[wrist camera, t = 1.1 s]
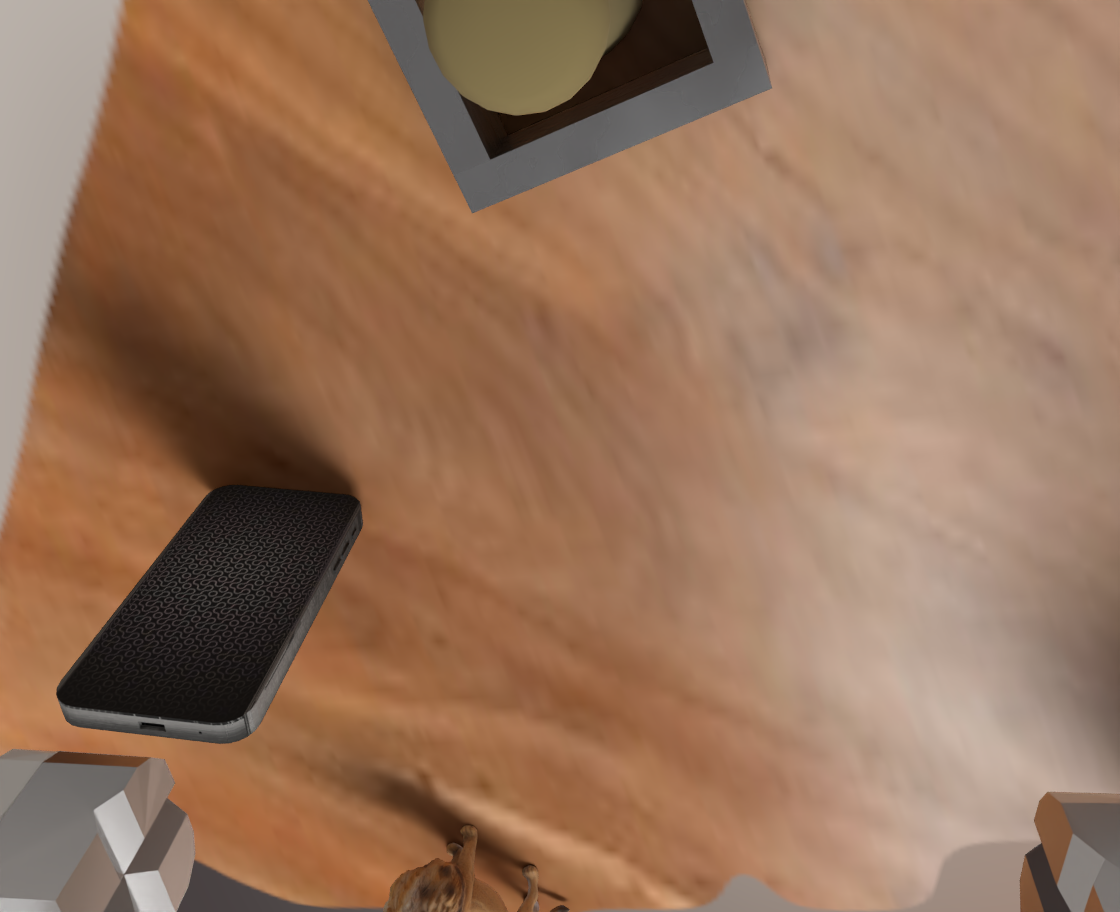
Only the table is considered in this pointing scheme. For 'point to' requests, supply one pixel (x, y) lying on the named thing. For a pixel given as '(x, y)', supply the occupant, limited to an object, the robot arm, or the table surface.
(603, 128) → the grey square tray
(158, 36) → the table surface
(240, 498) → the phone
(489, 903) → the lion figurine
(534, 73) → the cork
